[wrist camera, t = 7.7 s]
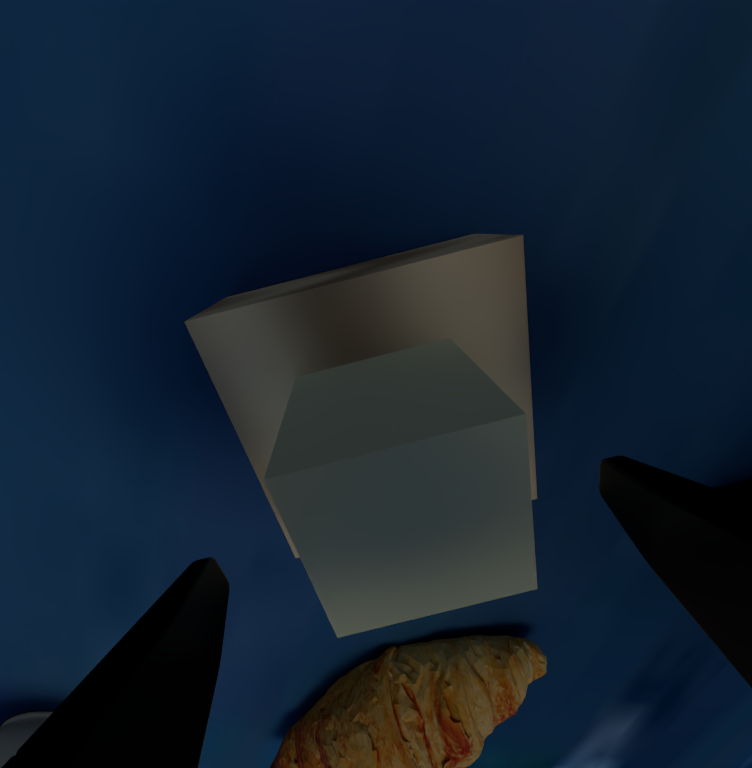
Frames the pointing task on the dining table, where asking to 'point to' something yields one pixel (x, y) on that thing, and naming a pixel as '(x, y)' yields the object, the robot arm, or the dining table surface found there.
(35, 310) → the dining table surface
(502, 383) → the birch plinth
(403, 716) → the croissant
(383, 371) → the sage cube
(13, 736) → the lidded jar
